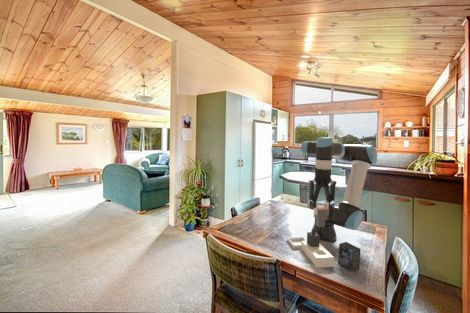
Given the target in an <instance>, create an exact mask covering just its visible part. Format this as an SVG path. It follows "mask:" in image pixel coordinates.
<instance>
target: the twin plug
mask: <svg viewBox="0 0 470 313" xmlns="http://www.w3.org/2000/svg"><path fill="white" fill-rule="evenodd" d="M311 231H312V232H309V231H308V232H307V233H306V235H307V236H306V240H307V243H308V245H309V246H310V247H319V243H321V242H320V241H321V240H320V236H319V235H318V234H317V233H316V232H315V228H313V227H312V228H311Z"/></svg>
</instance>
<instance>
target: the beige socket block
mask: <svg viewBox="0 0 470 313" xmlns="http://www.w3.org/2000/svg"><path fill="white" fill-rule="evenodd" d="M300 250H301V251H302V252H303V253H304V254H305V255H306V256H307V258H308V259H309V260H310V261H311V262H312V265H313V266H314V267H315V268H316V269H320V268H321V269H322V268H334V265H335V264H334V263H335V257H334V256H333V255H336V253H335V252H333V251H332V252H330V251H328V250H327V248H325V246H323V245H322V243H321V242H319V247H310V246H309V245H308V243H307V241H301V249H300Z"/></svg>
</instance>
